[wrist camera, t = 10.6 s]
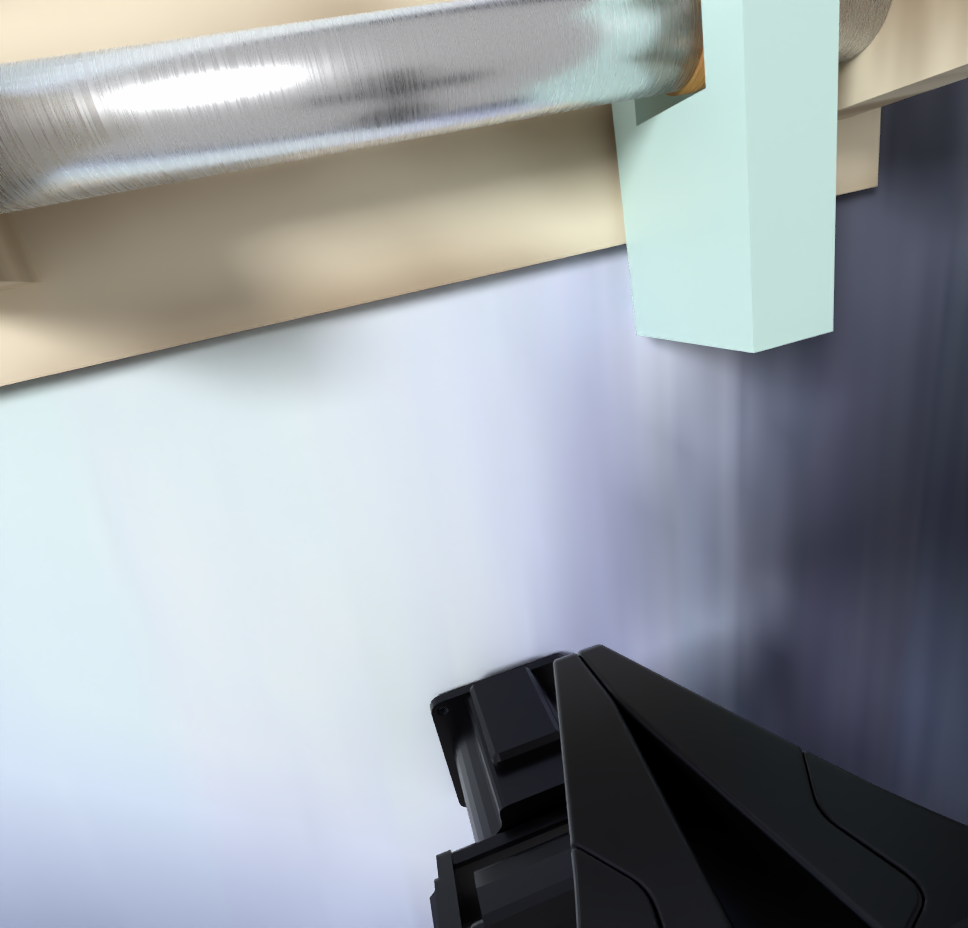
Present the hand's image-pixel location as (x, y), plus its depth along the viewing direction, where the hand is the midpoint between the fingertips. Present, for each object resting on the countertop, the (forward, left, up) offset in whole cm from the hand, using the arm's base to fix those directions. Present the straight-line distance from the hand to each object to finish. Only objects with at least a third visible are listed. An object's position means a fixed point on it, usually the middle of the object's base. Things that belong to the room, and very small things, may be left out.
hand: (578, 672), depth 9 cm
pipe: (+11, -2, -10) cm, 15 cm away
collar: (+9, -9, -12) cm, 17 cm away
